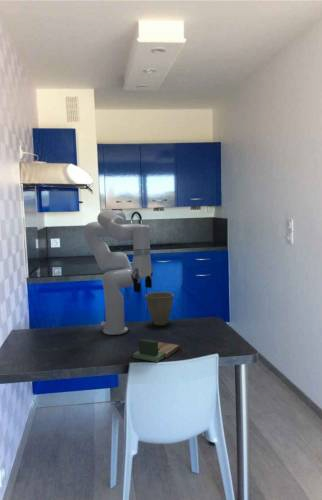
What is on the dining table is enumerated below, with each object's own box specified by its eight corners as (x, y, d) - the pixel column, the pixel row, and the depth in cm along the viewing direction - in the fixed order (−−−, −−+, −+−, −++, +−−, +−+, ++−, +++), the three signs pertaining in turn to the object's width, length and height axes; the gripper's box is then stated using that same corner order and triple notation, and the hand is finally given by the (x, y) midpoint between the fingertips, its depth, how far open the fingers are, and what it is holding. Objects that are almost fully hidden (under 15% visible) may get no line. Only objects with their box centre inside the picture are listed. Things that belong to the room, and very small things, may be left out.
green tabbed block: (133, 357, 192) (132, 340, 191) (144, 351, 200) (143, 334, 199) (157, 362, 186) (157, 344, 186) (167, 355, 194) (167, 338, 193)
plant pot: (179, 322, 244) (179, 294, 242) (161, 329, 233) (160, 299, 231) (159, 318, 254) (158, 290, 252) (140, 324, 243) (139, 295, 241)
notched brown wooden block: (138, 352, 198) (138, 348, 198) (152, 344, 209) (152, 341, 209) (166, 357, 192) (166, 353, 191) (179, 349, 202) (179, 345, 202)
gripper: (144, 249, 213) (145, 285, 215) (124, 254, 198) (125, 292, 200) (158, 250, 209) (159, 286, 211) (138, 255, 194) (139, 294, 196)
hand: (143, 289), depth 205 cm, fingers open, 9 cm apart
